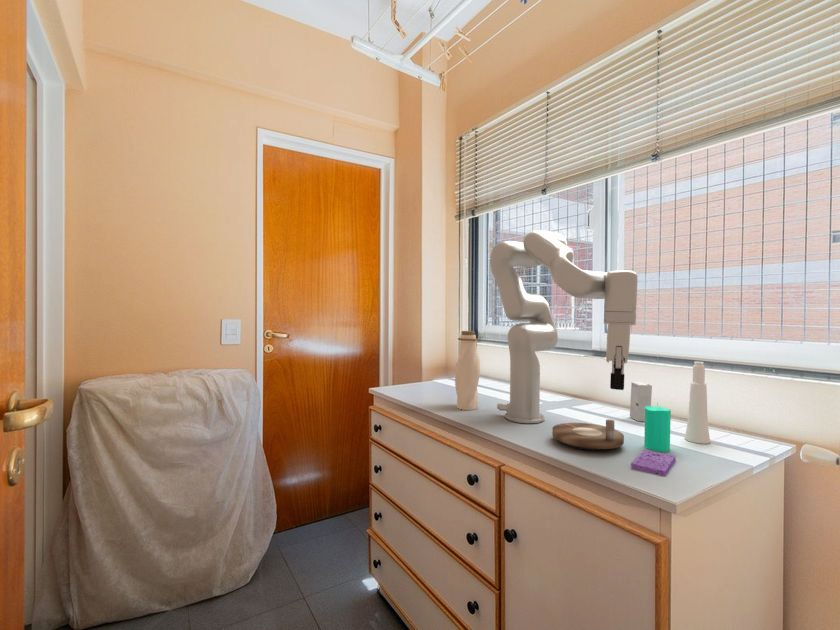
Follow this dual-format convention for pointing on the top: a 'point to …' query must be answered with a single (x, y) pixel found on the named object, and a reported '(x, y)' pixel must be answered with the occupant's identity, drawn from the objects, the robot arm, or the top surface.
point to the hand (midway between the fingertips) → (616, 388)
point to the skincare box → (640, 399)
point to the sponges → (654, 462)
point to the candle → (657, 428)
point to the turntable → (589, 435)
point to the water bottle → (467, 372)
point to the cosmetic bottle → (698, 408)
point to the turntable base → (586, 448)
